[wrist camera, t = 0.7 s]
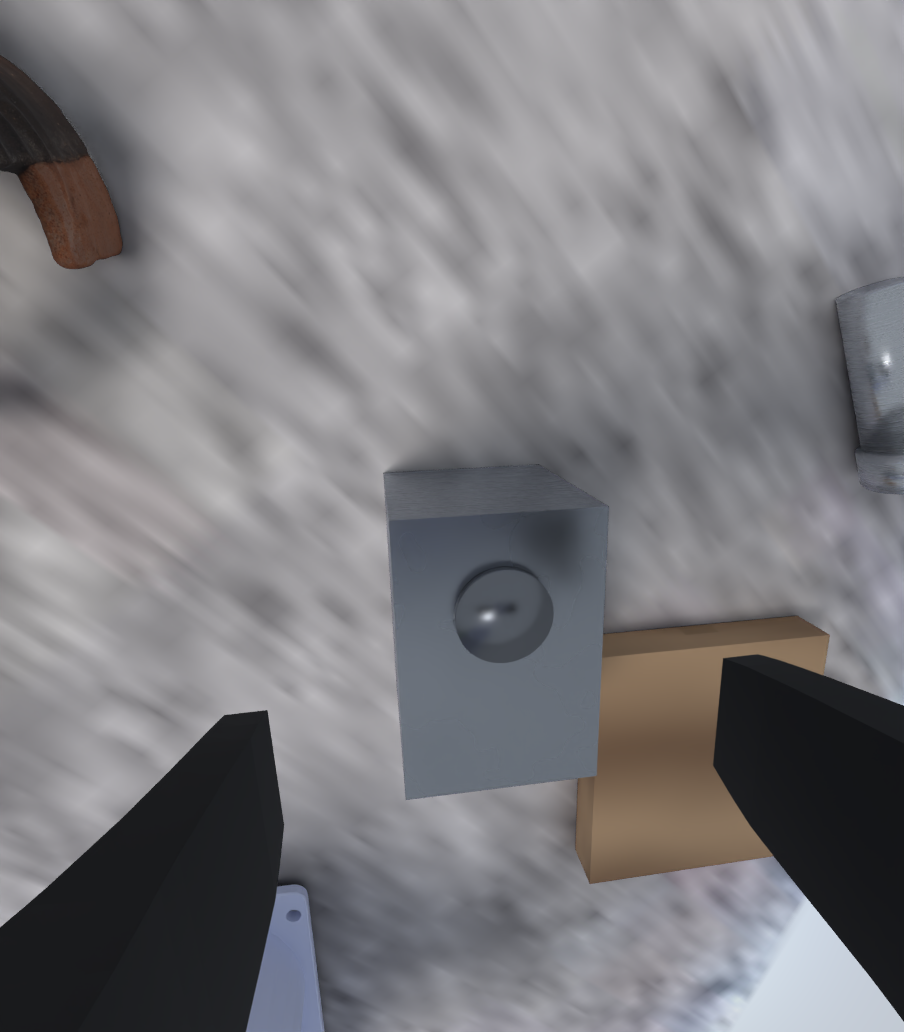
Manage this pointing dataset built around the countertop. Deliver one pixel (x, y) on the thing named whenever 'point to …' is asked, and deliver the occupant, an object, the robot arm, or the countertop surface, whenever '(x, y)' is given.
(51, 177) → the brown irregular piece
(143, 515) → the countertop surface
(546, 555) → the block
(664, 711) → the stand
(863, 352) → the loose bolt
